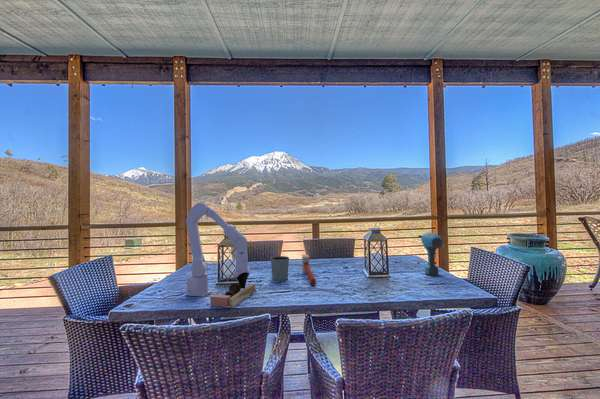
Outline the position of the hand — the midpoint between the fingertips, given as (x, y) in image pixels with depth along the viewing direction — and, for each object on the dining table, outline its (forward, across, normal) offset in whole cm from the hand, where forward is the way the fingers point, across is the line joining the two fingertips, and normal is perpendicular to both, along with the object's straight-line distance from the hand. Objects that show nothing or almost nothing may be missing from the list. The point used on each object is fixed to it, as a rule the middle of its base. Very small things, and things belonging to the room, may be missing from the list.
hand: (242, 287), depth 150 cm
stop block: (+1, -21, 0) cm, 21 cm away
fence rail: (+1, -11, -6) cm, 12 cm away
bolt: (+2, -12, 0) cm, 12 cm away
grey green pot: (+2, +22, -12) cm, 25 cm away
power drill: (+2, +53, -92) cm, 106 cm away
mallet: (+2, +28, -26) cm, 39 cm away
